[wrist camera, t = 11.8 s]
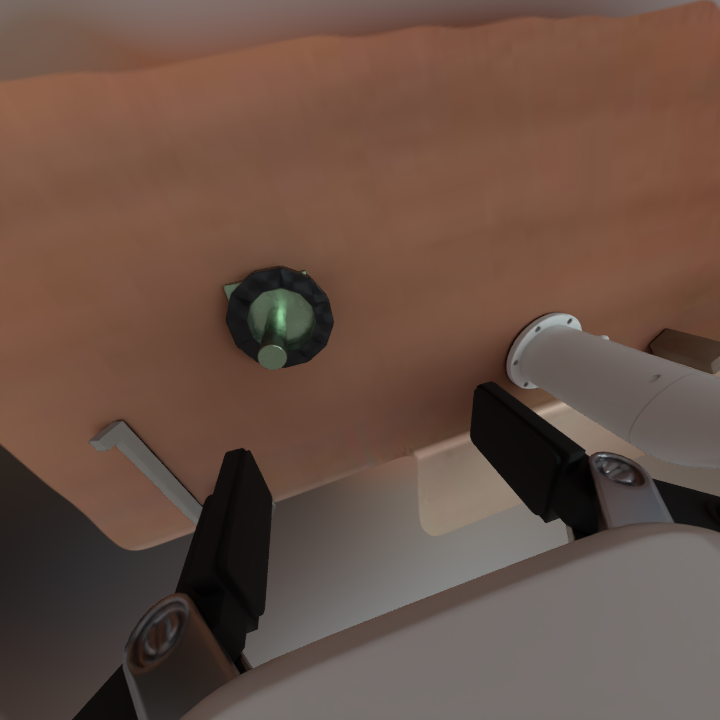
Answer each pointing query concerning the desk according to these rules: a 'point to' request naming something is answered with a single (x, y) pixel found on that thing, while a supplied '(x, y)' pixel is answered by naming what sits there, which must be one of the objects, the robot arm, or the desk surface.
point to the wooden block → (688, 350)
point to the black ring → (273, 281)
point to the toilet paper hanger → (149, 466)
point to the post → (278, 322)
